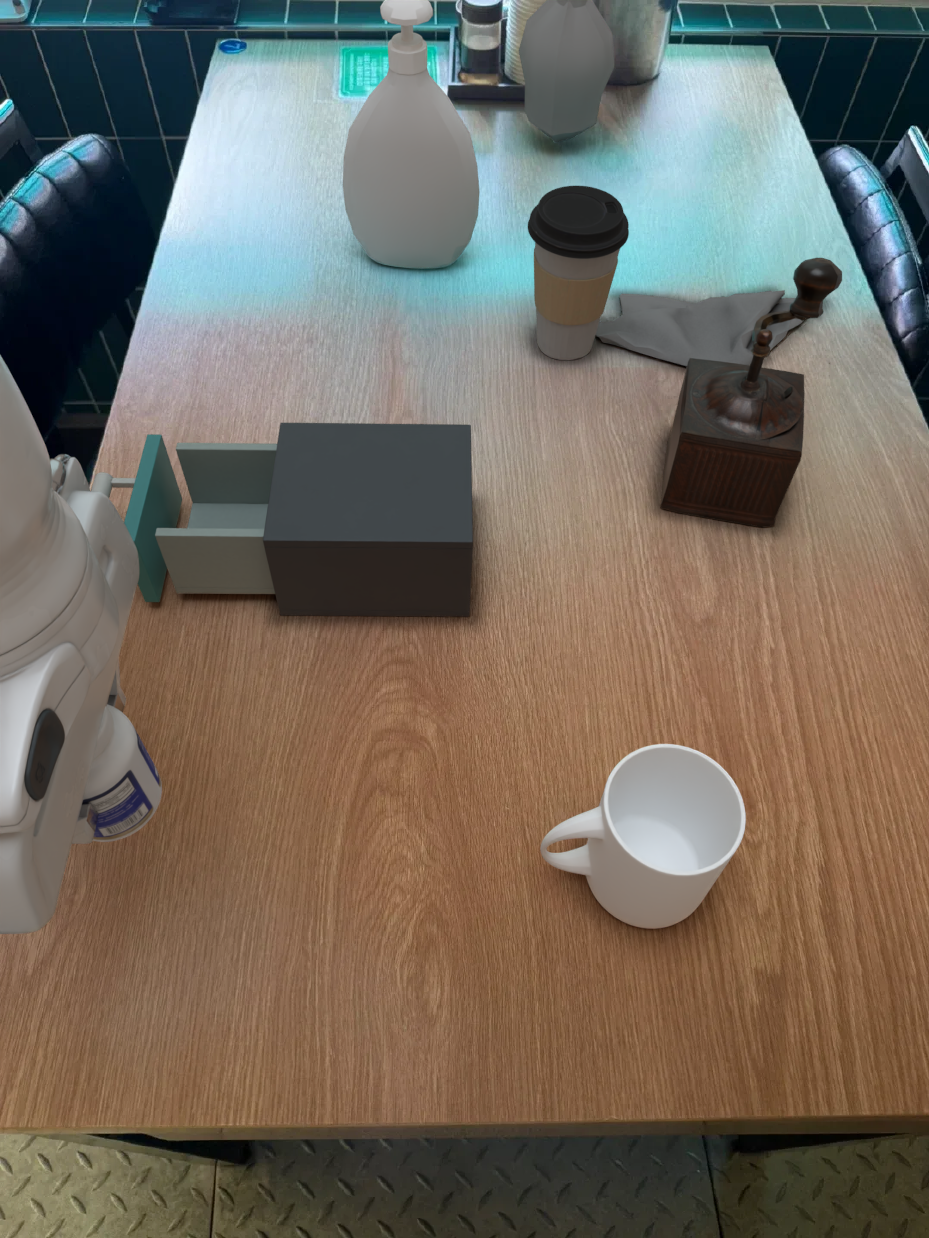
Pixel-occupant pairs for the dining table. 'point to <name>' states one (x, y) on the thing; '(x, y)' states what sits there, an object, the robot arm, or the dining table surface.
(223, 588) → the teal drawer
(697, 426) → the manual coffee grinder
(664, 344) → the cloth
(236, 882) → the dining table surface
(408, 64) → the soap bottle
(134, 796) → the pill bottle
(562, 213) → the coffee cup
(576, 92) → the bottle
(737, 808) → the mug
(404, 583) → the drawer cabinet
